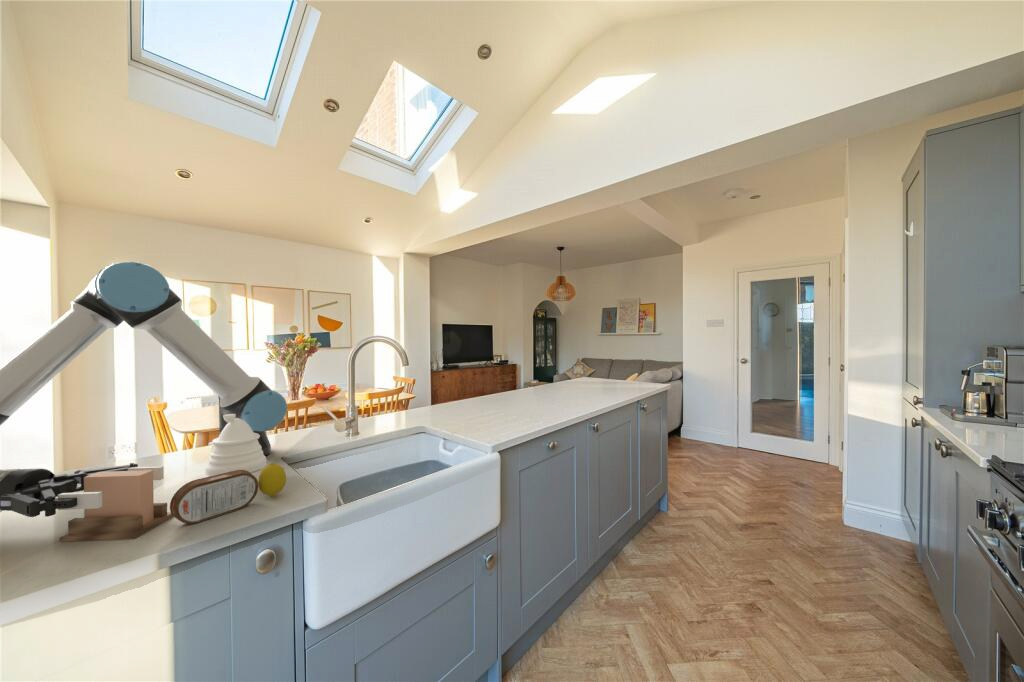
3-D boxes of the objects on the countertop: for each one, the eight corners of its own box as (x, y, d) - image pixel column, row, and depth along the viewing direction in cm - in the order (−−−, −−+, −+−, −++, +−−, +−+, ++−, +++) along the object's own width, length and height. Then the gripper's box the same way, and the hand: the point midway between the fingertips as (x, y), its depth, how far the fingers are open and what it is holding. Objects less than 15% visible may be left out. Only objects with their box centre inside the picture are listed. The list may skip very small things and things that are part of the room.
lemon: (262, 493, 92) (262, 460, 92) (288, 491, 94) (288, 458, 93) (255, 503, 87) (254, 468, 86) (282, 500, 88) (282, 465, 88)
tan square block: (84, 529, 74) (83, 477, 73) (100, 521, 77) (99, 471, 76) (140, 526, 74) (140, 475, 74) (153, 519, 77) (153, 470, 77)
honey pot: (235, 494, 92) (234, 419, 91) (191, 490, 94) (190, 417, 94) (278, 475, 104) (277, 409, 104) (238, 472, 107) (238, 408, 107)
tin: (254, 500, 88) (254, 464, 88) (260, 504, 86) (260, 466, 86) (169, 527, 76) (168, 485, 76) (174, 532, 74) (174, 488, 74)
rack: (59, 541, 70) (59, 524, 70) (106, 518, 79) (106, 502, 79) (135, 538, 72) (135, 520, 72) (173, 516, 80) (173, 500, 80)
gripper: (81, 484, 86) (182, 480, 88) (-79, 543, 61) (66, 537, 63) (81, 451, 86) (182, 448, 88) (-80, 497, 61) (65, 491, 63)
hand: (134, 485), depth 76 cm, fingers open, 13 cm apart
